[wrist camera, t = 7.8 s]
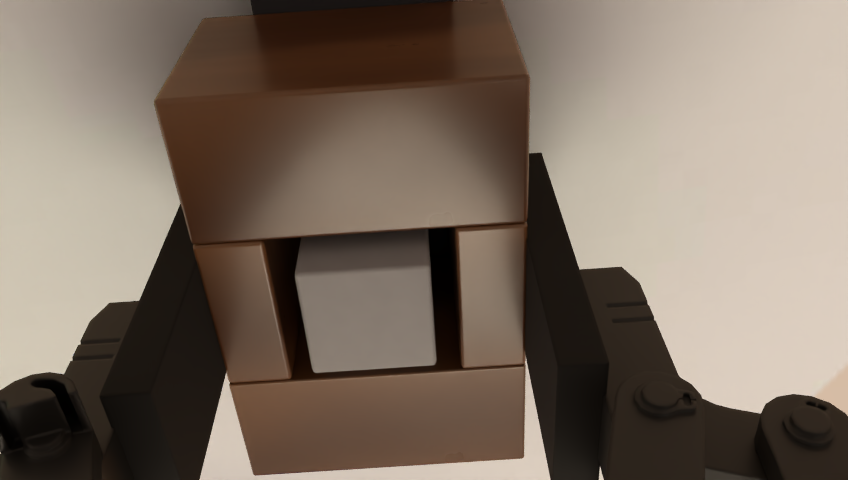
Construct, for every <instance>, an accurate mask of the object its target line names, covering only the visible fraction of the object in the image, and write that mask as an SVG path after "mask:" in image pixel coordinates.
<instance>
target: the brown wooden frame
mask: <svg viewBox="0 0 848 480" xmlns="http://www.w3.org/2000/svg"><path fill="white" fill-rule="evenodd" d="M154 106H155V110H156V114H157V117H158V121H159V125H160V129H161V132H162V136H163V140H164V143H165V147H166V151H167V154H168V158H169V162H170V166H171V169H172V173H173V177H174V180H175V184H176V188H177V191H178V195H179V199H180V203H181V206H182V210H183V214H184V217H185V221H186V225H187V228H188V232H189V236H190V240H191V242H192V243H193V244H194V245H193V250H194V254H195V258H196V261H197V264H198V268H199V272H200V275H201V279H202V283H203V286H204V290H205V294H206V297H207V301H208V305H209V308H210V312H211V316H212V320H213V323H214V327H215V331H216V334H217V338H218V342H219V345H220V349H221V353H222V356H223V360H224V364H225V367H226V373H227V376H228V380H229V382H230V384H229V386H230V390H231V393H232V397H233V401H234V404H235V408H236V412H237V415H238V419H239V423H240V427H241V430H242V434H243V438H244V441H245V445H246V449H247V452H248V456H249V460H250V463H251V467H252V471H253V474H254V475H269V474H285V473H301V472H316V471H332V470H348V469H363V468H379V467H395V466H410V465H426V464H442V463H458V462H473V461H489V460H505V459H520V458H523V457H524V425H525V367H526V366H525V358H526V354H525V315H526V248H527V237H528V225H527V218H528V177H529V118H530V77H529V74H528V71H527V68H526V65H525V62H524V60H523V57H522V54H521V51H520V48H519V46H518V43H517V40H516V37H515V34H514V31H513V29H512V26H511V23H510V20H509V17H508V15H507V12H506V9H505V6H504V3H503V1H502V0H464V1H449V2H434V3H420V4H405V5H390V6H376V7H361V8H346V9H332V10H317V11H302V12H288V13H273V14H258V15H244V16H229V17H215V18H204V19H202V21H201V23H200V24H199V26H198V28H197V29H196V31H195V33H194V34H193V36H192V38H191V39H190V41H189V43H188V44H187V46H186V48H185V50H184V51H183V53H182V55H181V56H180V58H179V60H178V61H177V63H176V65H175V66H174V68H173V70H172V71H171V73H170V75H169V76H168V78H167V80H166V82H165V83H164V85H163V87H162V88H161V90H160V92H159V93H158V95H157V97H156V98H155V100H154ZM435 228H449V246H450V256H442V257H430V263H431V279H432V295H433V310H434V326H435V342H436V358H437V361H436V363H435V365H429V366H414V367H399V368H383V369H368V370H353V371H337V372H322V373H315V372H314V371H313V370H312V366H311V361H310V356H309V350H308V345H307V340H306V334H305V329H304V324H303V318H302V313H301V308H300V302H299V297H298V292H297V287H296V281H295V270H296V264H297V258H298V253H299V247H300V241H301V237H314V236H329V235H344V234H359V233H374V232H389V231H405V230H420V229H435Z"/></svg>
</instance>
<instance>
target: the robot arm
mask: <svg viewBox="0 0 848 480" xmlns="http://www.w3.org/2000/svg"><path fill="white" fill-rule="evenodd" d="M527 225H528V237H527V248H526V315H525V354H526V359H527V364H528V369H529V374H530V379H531V384H532V389H533V394H534V399H535V404H536V409H537V414H538V419H539V424H540V429H541V434H542V439H543V444H544V449H545V453H546V458H547V463H548V468H549V473H550V478H551V480H599V469H600V467H601V470H602V474H603V478H604V480H848V416H847V415H846V414H845V413H844V412H842V411H841V410H839V409H838V408H836V407H835V406H834V405H832V404H831V403H828V402H826V401H823V400H820V399H817V398H815V397H812V396H804V395H796V394H792V395H786V396H780V397H776V398H775V399H773V400H772V401H770V402H768V403H767V404H766V405H765V407H764V409H763V411H762V413H761V414H759V413H753V412H748V411H742V410H736V409H731V408H727V407H723V406H719V405H715V404H713V403H711V402H709V401H706V400H704V399H702V397H701V395H700V394H699V392H698V391H697V390H696V389H695V388H694V387H693V386H692V384H690V383H688V382H687V381H685V380H683V379H682V378H680V377H679V375H678V373H677V371H676V368H675V366H674V364H673V361H672V359H671V357H670V354H669V352H668V349H667V347H666V345H665V342H664V340H663V338H662V335H661V333H660V330H659V328H658V326H657V323H656V321H654V316H653V314H652V311H651V309H650V307H649V305H647V300H646V297H645V295H644V292H643V290H642V288H641V285H640V283H639V282H638V281H637V280H636V279H635V278H633V277H632V276H631V275H630V274H629V273H628V272H627V271H626V270H624V269H623V268H622V267H612V268H597V269H582V270H579V267H578V264H577V261H576V258H575V255H574V252H573V249H572V246H571V243H570V239H569V236H568V233H567V230H566V227H565V224H564V221H563V218H562V215H561V212H560V209H559V206H558V203H557V200H556V196H555V193H554V190H553V187H552V184H551V181H550V178H549V175H548V172H547V169H546V166H545V163H544V160H543V156H542V153H531V154H529V177H528V218H527ZM193 245H194V244H193V243H192V242H191V240H190V236H189V232H188V228H187V225H186V221H185V217H184V214H183V210H182V206H181V204H180V206H179V209H178V211H177V213H176V216H175V218H174V220H173V223H172V225H171V228H170V230H169V232H168V235H167V237H166V239H165V242H164V244H163V246H162V249H161V251H160V253H159V256H158V258H157V261H156V263H155V265H154V268H153V270H152V272H151V275H150V277H149V279H148V282H147V284H146V286H145V289H144V291H143V294H142V296H141V298H140V301H132V302H117V303H109V304H108V305H107V306H106V307H105V308H104V309H103V310H102V311H101V312H99V313H98V314H97V315H96V316H95V317H94V318H93V319H92V320H91V321H90V323H89V325H88V327H87V329H86V331H85V333H84V335H83V337H82V339H81V345H78V347H77V349H76V351H75V353H74V355H73V361H70V363H69V365H68V368H67V370H66V372H65V374H57V373H51V372H48V373H41V374H34V375H30V376H28V377H25V378H22V379H19V380H17V381H14V382H13V383H11V384H10V385H8V386H7V387H5V388H3V389H2V390H0V452H1V454H0V480H199V479H200V475H201V471H202V467H203V463H204V459H205V455H206V451H207V447H208V443H209V439H210V435H211V431H212V427H213V423H214V419H215V415H216V411H217V407H218V403H219V399H220V395H221V391H222V387H223V383H224V379H225V375H226V367H225V364H224V360H223V356H222V353H221V349H220V345H219V342H218V338H217V334H216V331H215V327H214V323H213V320H212V316H211V312H210V308H209V305H208V301H207V297H206V294H205V290H204V286H203V283H202V279H201V275H200V272H199V268H198V264H197V261H196V258H195V254H194V250H193Z"/></svg>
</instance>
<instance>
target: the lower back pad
mask: <svg viewBox="0 0 848 480" xmlns="http://www.w3.org/2000/svg"><path fill="white" fill-rule="evenodd" d="M449 1H453V0H251V5H252V11H253V15H258V14H273V13H288V12H302V11H317V10H332V9H346V8H361V7H376V6H390V5H405V4H420V3H434V2H449ZM442 256H450V246H449V228H435V229H420V230H405V231H389V232H374V233H359V234H344V235H329V236H314V237H301V241H300V247H299V253H298V258H297V264H296V270H295V281H296V287H297V292H298V297H299V302H300V308H301V313H302V318H303V324H304V329H305V334H306V340H307V345H308V350H309V356H310V361H311V366H312V370H313V371H314V372H315V373H322V372H337V371H353V370H368V369H383V368H399V367H414V366H429V365H435V363H436V361H437V358H436V342H435V326H434V310H433V295H432V279H431V263H430V257H442Z"/></svg>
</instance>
